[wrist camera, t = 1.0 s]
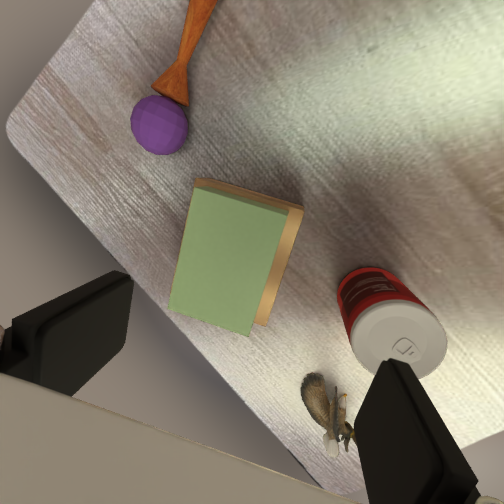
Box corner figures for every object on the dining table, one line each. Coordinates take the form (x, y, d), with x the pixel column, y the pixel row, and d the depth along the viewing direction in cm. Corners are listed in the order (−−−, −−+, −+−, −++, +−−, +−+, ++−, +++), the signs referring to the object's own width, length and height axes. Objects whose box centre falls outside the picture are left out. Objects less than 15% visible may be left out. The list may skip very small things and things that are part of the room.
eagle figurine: (383, 411, 37) (344, 370, 35) (373, 473, 33) (328, 430, 30) (335, 405, 43) (299, 369, 41) (321, 457, 38) (279, 420, 36)
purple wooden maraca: (247, -54, 25) (170, 161, 29) (245, -10, 31) (181, 164, 35) (183, -90, 24) (114, 136, 29) (194, -39, 30) (135, 144, 34)
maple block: (209, 177, 35) (195, 177, 30) (304, 206, 34) (304, 210, 29) (185, 280, 39) (169, 294, 34) (269, 308, 38) (265, 327, 33)
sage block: (207, 186, 30) (194, 186, 26) (289, 211, 29) (287, 215, 25) (182, 294, 34) (167, 308, 30) (254, 319, 33) (248, 337, 29)
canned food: (386, 332, 36) (422, 396, 25) (326, 310, 36) (336, 362, 26) (415, 279, 34) (467, 323, 23) (350, 256, 34) (373, 289, 24)
